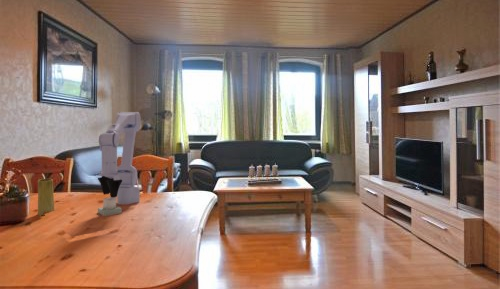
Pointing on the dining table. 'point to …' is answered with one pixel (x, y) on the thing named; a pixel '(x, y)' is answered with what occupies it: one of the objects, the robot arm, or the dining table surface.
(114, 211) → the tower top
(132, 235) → the dining table surface
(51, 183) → the vase
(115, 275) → the dining table surface
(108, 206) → the white rounded dome
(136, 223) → the dining table surface
